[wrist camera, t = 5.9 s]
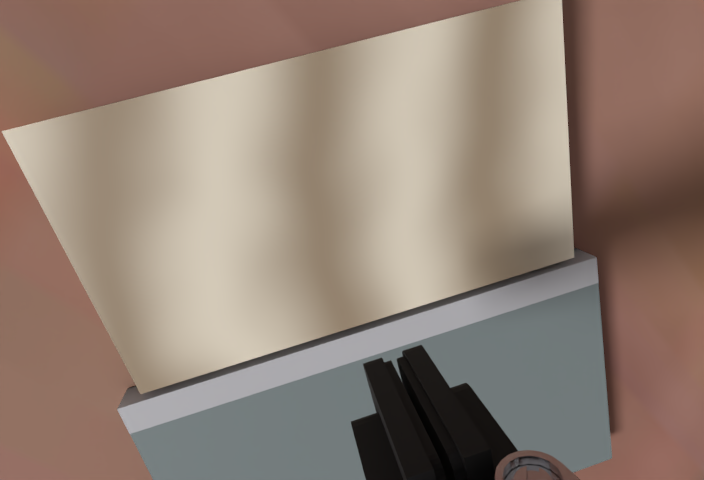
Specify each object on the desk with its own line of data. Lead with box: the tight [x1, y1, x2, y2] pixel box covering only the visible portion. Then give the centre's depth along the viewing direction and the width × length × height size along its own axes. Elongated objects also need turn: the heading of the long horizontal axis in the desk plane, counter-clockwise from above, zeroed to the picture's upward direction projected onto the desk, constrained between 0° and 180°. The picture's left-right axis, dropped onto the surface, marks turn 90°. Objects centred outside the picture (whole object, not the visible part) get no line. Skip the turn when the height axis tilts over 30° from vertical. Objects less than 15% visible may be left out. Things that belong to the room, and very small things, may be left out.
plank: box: [2, 0, 574, 394], centre depth 16 cm, size 18×10×1 cm, turn 104°
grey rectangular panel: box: [117, 248, 612, 480], centre depth 20 cm, size 20×11×1 cm, turn 104°
